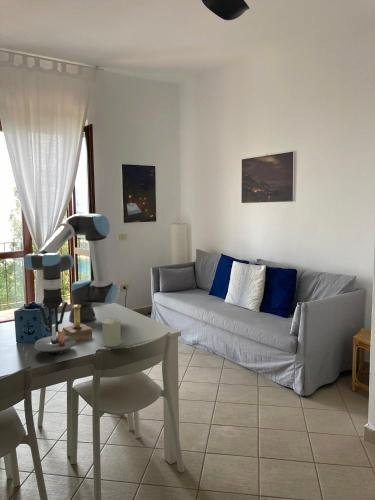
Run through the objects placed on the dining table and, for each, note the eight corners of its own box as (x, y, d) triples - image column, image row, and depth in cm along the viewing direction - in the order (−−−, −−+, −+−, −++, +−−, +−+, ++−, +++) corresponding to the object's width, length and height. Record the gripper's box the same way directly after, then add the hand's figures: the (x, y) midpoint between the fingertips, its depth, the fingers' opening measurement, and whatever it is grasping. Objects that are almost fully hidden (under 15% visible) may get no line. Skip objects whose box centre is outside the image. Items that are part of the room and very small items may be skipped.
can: (112, 348, 197) (111, 323, 195) (98, 344, 202) (97, 320, 200) (124, 342, 204) (124, 319, 203) (111, 339, 209) (110, 316, 208)
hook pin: (71, 337, 211) (70, 305, 209) (79, 335, 214) (78, 303, 212) (75, 339, 208) (74, 307, 206) (83, 337, 211) (82, 305, 209)
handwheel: (28, 344, 192) (28, 326, 191) (65, 335, 203) (64, 319, 202) (44, 355, 178) (43, 336, 177) (82, 345, 190) (81, 328, 189)
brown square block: (62, 336, 212) (62, 327, 211) (82, 332, 219) (82, 323, 218) (72, 342, 204) (72, 332, 203) (92, 337, 211) (92, 328, 210)
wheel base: (46, 351, 191) (46, 345, 191) (59, 348, 195) (58, 342, 195) (52, 355, 187) (51, 348, 187) (64, 352, 191) (64, 345, 191)
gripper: (36, 290, 176) (38, 343, 179) (67, 288, 180) (69, 340, 182) (37, 287, 183) (39, 337, 186) (67, 285, 187) (68, 335, 190)
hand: (54, 339), depth 184 cm, fingers closed
